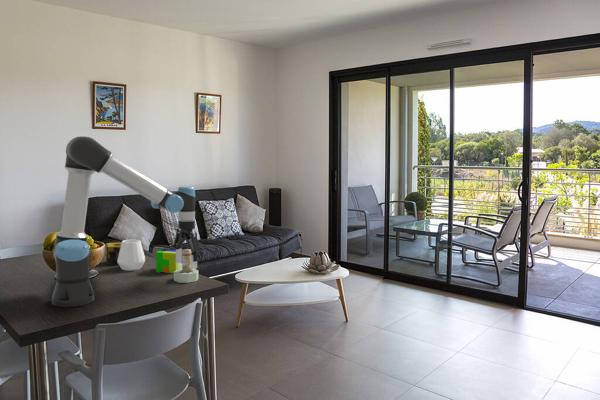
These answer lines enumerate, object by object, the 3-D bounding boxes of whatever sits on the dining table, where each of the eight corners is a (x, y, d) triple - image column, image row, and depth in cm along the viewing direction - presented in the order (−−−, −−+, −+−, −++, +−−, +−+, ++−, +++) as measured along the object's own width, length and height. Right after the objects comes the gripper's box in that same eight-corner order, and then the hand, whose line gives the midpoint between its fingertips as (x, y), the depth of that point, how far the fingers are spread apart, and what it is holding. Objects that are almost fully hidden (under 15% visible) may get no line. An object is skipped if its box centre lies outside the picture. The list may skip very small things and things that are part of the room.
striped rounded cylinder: (185, 281, 220) (185, 251, 218) (180, 279, 223) (180, 249, 221) (192, 279, 223) (193, 250, 221) (188, 277, 225) (188, 248, 224)
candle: (106, 261, 253) (105, 243, 252) (126, 260, 257) (126, 242, 256) (107, 266, 244) (106, 246, 242) (128, 264, 248) (128, 245, 247)
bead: (182, 283, 215) (182, 275, 215) (170, 279, 223) (170, 270, 222) (201, 280, 222) (202, 271, 222) (190, 275, 230) (190, 267, 229)
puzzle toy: (182, 268, 243) (183, 249, 242) (175, 273, 233) (175, 253, 232) (163, 267, 244) (163, 248, 243) (156, 272, 234) (156, 252, 233)
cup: (150, 266, 245) (150, 239, 243) (135, 272, 232) (134, 244, 231) (128, 264, 248) (127, 237, 247) (111, 270, 236) (111, 242, 234)
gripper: (208, 223, 213) (208, 269, 215) (179, 216, 231) (179, 259, 233) (193, 224, 208) (193, 272, 210) (165, 217, 226) (165, 261, 228)
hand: (186, 265), depth 222 cm, fingers open, 13 cm apart
